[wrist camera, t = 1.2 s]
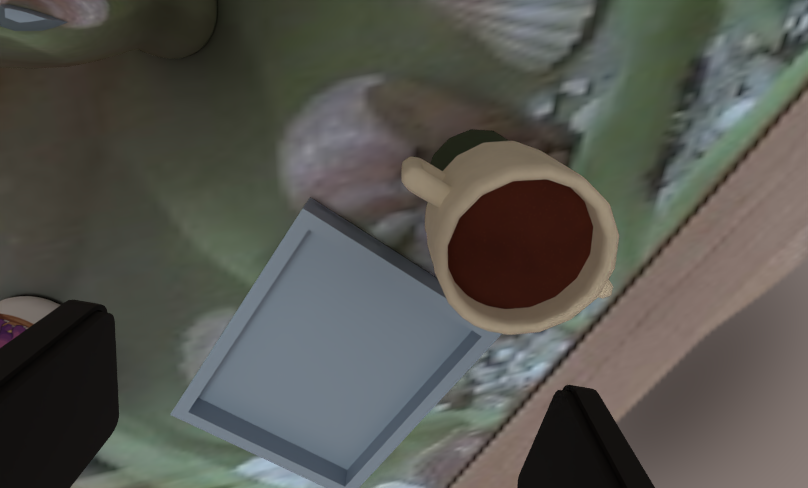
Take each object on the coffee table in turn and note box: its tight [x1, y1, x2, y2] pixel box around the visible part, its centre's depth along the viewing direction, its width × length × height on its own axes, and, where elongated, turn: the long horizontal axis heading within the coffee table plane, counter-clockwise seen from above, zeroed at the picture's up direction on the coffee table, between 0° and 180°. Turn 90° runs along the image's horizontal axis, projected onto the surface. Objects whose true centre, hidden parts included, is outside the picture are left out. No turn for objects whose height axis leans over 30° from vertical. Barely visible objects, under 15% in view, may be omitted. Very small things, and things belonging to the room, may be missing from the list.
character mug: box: [401, 130, 619, 335], centre depth 23 cm, size 11×7×13 cm, turn 59°
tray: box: [170, 197, 502, 488], centre depth 33 cm, size 20×16×2 cm
